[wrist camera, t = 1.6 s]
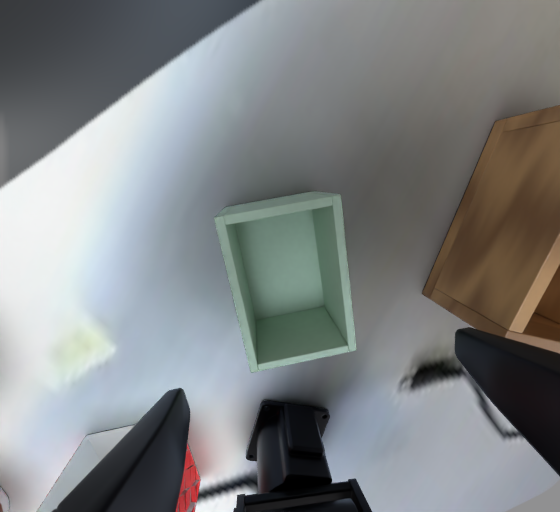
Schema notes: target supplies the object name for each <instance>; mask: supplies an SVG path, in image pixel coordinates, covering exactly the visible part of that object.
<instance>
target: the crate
mask: <svg viewBox="0 0 560 512" xmlns="http://www.w3.org/2000/svg"><path fill="white" fill-rule="evenodd" d="M422 294H423V295H424V296H426V297H428V298H429V299H431V300H432V301H434V302H435V303H437V304H438V305H440V306H441V307H443V308H445V309H446V310H448V311H449V312H451V313H452V314H454V315H455V316H457V317H458V318H460V319H462V320H463V321H465V322H466V323H468V324H469V325H471V326H472V327H474V328H475V329H477V330H481V331H484V332H488V333H491V334H495V335H498V336H502V337H505V338H509V339H512V340H516V341H519V342H522V343H526V344H529V345H533V346H536V347H540V348H543V349H547V350H550V351H554V352H557V353H560V105H558V106H554V107H550V108H546V109H542V110H538V111H534V112H530V113H526V114H522V115H518V116H514V117H510V118H506V119H502V120H499V121H496V122H495V124H494V126H493V129H492V131H491V133H490V136H489V138H488V140H487V143H486V145H485V147H484V150H483V152H482V154H481V157H480V159H479V161H478V164H477V166H476V168H475V171H474V173H473V175H472V178H471V180H470V182H469V185H468V187H467V190H466V192H465V194H464V197H463V199H462V201H461V204H460V206H459V208H458V211H457V213H456V215H455V218H454V220H453V222H452V225H451V227H450V229H449V232H448V234H447V236H446V239H445V241H444V243H443V246H442V248H441V250H440V253H439V255H438V257H437V260H436V262H435V264H434V267H433V269H432V271H431V274H430V276H429V278H428V281H427V283H426V285H425V288H424V290H423V292H422Z"/></svg>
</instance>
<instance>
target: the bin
mask: <svg viewBox="0 0 560 512" xmlns="http://www.w3.org/2000/svg"><path fill="white" fill-rule="evenodd" d="M214 220H215V224H216V229H217V233H218V237H219V241H220V245H221V250H222V254H223V258H224V262H225V266H226V271H227V275H228V279H229V283H230V287H231V292H232V296H233V300H234V304H235V308H236V313H237V317H238V321H239V325H240V329H241V334H242V338H243V342H244V346H245V350H246V355H247V359H248V363H249V367H250V371H251V373H253V372H258V371H262V370H267V369H272V368H276V367H281V366H286V365H290V364H295V363H300V362H304V361H309V360H314V359H318V358H323V357H328V356H332V355H337V354H342V353H346V352H348V351H349V352H351V351H356V350H357V349H356V340H355V330H354V320H353V310H352V300H351V290H350V280H349V270H348V260H347V251H346V241H345V231H344V221H343V211H342V201H341V195H340V194H333V193H325V192H317V191H312V192H306V193H300V194H295V195H289V196H284V197H278V198H273V199H267V200H261V201H256V202H250V203H245V204H239V205H233V206H228V207H225V208H224V209H223V210H222V211H221V212H220V213H218V214H217V215H216V216H215V217H214Z"/></svg>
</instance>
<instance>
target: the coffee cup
mask: <svg viewBox="0 0 560 512" xmlns="http://www.w3.org/2000/svg"><path fill="white" fill-rule="evenodd" d="M9 508H10V505H9V499H8V496H7V495H6V494H5V492H4V491H3V490H2V489H1V487H0V512H8V510H9Z"/></svg>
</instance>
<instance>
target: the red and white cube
mask: <svg viewBox="0 0 560 512" xmlns="http://www.w3.org/2000/svg"><path fill="white" fill-rule="evenodd" d="M134 426H135V425H132V426H127V427H123V428H118V429H113V430H109V431H104V432H100V433H95V434H91V435H86V436H85V438H84V439H83V441H82V442H81V444H80V446H79V447H78V449H77V450H76V452H75V453H74V455H73V456H72V458H71V459H70V461H69V462H68V464H67V466H66V467H65V469H64V470H63V472H62V473H61V475H60V476H59V478H58V479H57V481H56V482H55V484H54V486H53V487H52V489H51V490H50V492H49V493H48V495H47V496H46V498H45V499H44V501H43V502H42V504H41V505H40V507H39V508H38V510H37V512H52V511H53V510H54V509H57V506H58V505H59V503H60V502H61V501H62V500H63V499H64V498H65V497H66V496H67V495H68V494H69V493H70V492H71V491H72V490H73V489H74V488H75V487H76V486H77V485H78V484H79V483H80V482H81V481H82V480H83V479H84V478H85V477H86V475H87V474H88V473H89V472H90V471H91V470H92V469H93V468H94V467H95V466H96V465H97V464H98V463H99V462H100V461H101V460H102V459H103V458H104V457H105V456H106V455H107V454H108V453H109V452H110V451H111V450H112V449H113V447H114V446H115V445H116V444H117V443H118V442H119V441H120V440H121V439H122V438H123V437H124V436H125V435H126V434H127V433H128V432H129V431H130V430H131V429H132V428H133V427H134ZM200 480H201V479H200V476H199V474H198V471H197V468H196V465H195V462H194V459H193V456H192V454H191V451H190V448H189V445H188V442H187V449H186V458H185V466H184V473H183V478H182V483H181V488H180V493H179V498H178V502H177V507H176V512H195V509H196V503H197V498H198V492H199V486H200Z"/></svg>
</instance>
